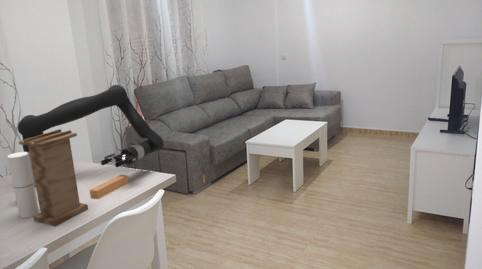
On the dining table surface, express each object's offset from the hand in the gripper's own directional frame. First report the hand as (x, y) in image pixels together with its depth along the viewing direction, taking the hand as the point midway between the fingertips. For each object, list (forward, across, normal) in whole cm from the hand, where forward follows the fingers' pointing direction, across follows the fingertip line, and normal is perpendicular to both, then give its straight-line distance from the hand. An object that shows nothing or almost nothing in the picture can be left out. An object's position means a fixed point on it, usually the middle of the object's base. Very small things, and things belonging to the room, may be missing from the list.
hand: (108, 164), depth 184 cm
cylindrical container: (+32, -14, +12) cm, 37 cm away
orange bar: (+1, 0, +12) cm, 12 cm away
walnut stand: (+28, 0, +12) cm, 31 cm away
